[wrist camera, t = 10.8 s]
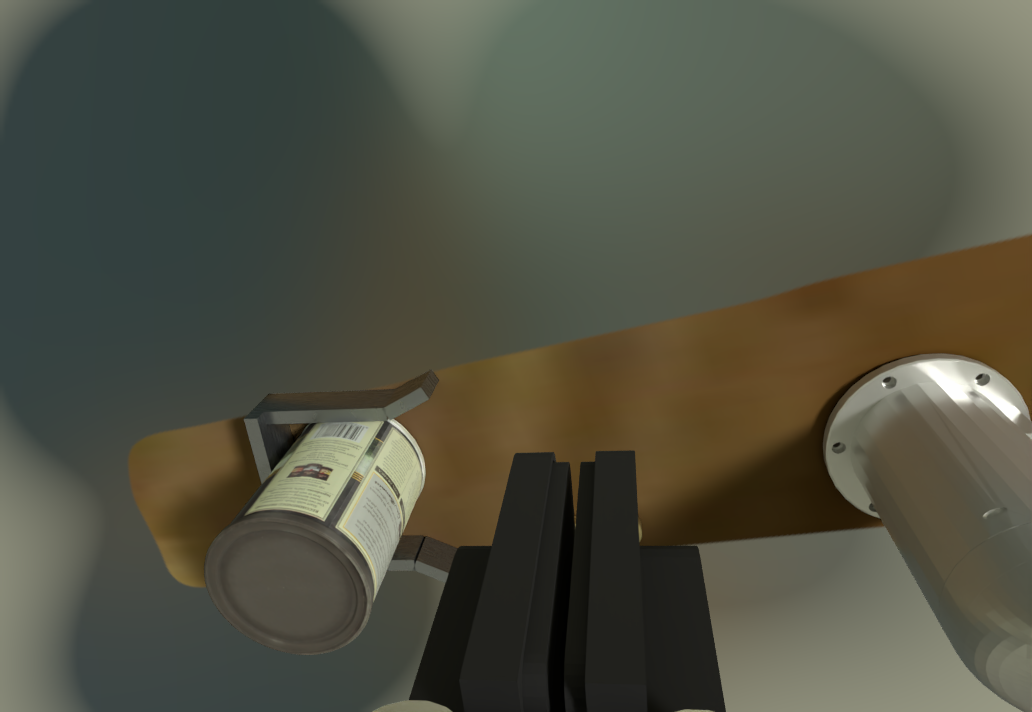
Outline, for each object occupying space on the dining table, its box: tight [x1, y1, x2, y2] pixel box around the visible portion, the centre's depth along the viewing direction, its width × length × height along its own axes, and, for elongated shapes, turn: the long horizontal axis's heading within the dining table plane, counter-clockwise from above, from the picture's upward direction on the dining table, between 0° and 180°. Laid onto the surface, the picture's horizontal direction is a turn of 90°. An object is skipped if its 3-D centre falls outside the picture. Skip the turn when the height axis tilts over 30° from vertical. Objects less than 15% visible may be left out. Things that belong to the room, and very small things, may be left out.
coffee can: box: [204, 419, 425, 655], centre depth 49 cm, size 10×10×14 cm
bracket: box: [244, 370, 457, 583], centre depth 54 cm, size 13×17×4 cm
